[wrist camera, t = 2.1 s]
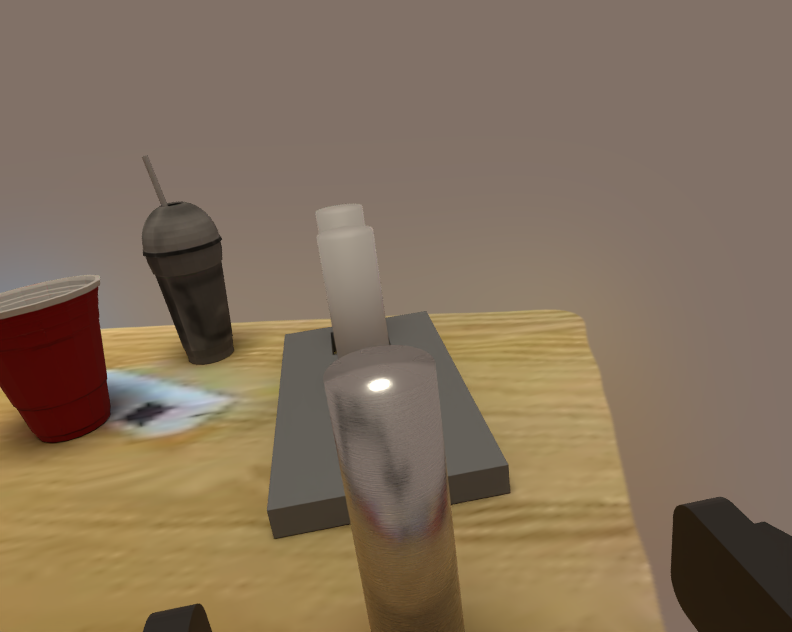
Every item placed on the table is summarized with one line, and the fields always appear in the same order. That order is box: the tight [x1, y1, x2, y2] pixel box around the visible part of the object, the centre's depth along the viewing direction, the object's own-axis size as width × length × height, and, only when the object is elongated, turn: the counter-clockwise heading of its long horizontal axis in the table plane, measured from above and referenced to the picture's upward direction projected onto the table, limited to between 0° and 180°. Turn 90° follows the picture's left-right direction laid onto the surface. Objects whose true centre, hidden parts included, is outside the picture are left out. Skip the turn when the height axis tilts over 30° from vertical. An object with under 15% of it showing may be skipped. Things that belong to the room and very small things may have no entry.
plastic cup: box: [0, 275, 110, 443], centre depth 48 cm, size 11×11×12 cm
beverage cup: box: [142, 156, 234, 364], centre depth 56 cm, size 7×7×20 cm
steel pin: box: [323, 345, 465, 632], centre depth 23 cm, size 4×4×14 cm
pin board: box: [267, 204, 510, 538], centre depth 44 cm, size 14×26×14 cm, turn 8°
